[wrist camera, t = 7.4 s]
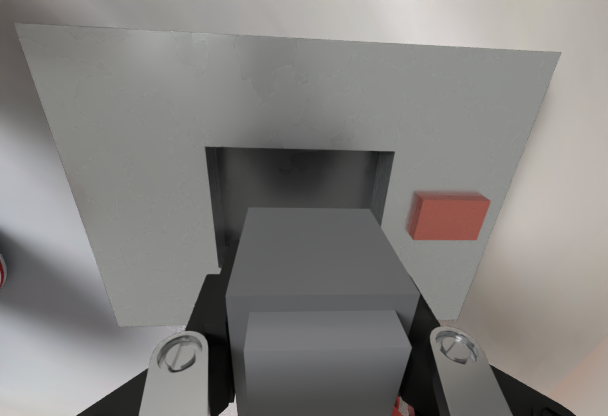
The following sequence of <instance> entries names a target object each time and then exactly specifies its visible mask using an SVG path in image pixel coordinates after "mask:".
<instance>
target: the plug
mask: <svg viewBox="0 0 608 416" xmlns="http://www.w3.org/2000/svg"><path fill="white" fill-rule="evenodd" d="M225 297H226V306H227V316H228V326H229V335H230V345H231V354H232V364H233V374H234V383H235V393H236V403H237V412H238V416H391V414H392V411H393V408H394V404H395V401H396V398H397V395H398V391H399V388H400V385H401V381H402V378H403V375H404V372H405V368H406V365H407V362H408V359H409V355H410V352H411V349H412V347H411V345H410V342H409V340H408V335H409V331H410V328H411V324H412V321H413V317H414V314H415V310H416V307H417V303H418V300H419V297H420V293H419V291H418V289H417V288H416V286H415V284H414V283H413V281H412V279H411V277H410V276H409V274H408V272H407V271H406V269H405V267H404V266H403V264H402V262H401V261H400V259H399V257H398V256H397V254H396V252H395V251H394V249H393V247H392V246H391V244H390V242H389V240H388V239H387V237H386V235H385V234H384V232H383V230H382V229H381V227H380V225H379V224H378V222H377V220H376V219H375V217H374V215H373V214H372V212H371V210H370V209H344V208H261V207H249V208H248V212H247V215H246V219H245V223H244V227H243V231H242V234H241V238H240V242H239V246H238V250H237V254H236V257H235V261H234V265H233V269H232V273H231V276H230V280H229V284H228V288H227V292H226V295H225Z"/></svg>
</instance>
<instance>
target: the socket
mask: <svg viewBox="0 0 608 416" xmlns="http://www.w3.org/2000/svg"><path fill="white" fill-rule="evenodd" d="M13 24H14V27H15V30H16V32H17V35H18V38H19V41H20V44H21V47H22V50H23V53H24V55H25V58H26V61H27V64H28V67H29V70H30V73H31V76H32V78H33V81H34V84H35V87H36V90H37V93H38V96H39V99H40V101H41V104H42V107H43V110H44V113H45V116H46V119H47V122H48V124H49V127H50V130H51V133H52V136H53V139H54V142H55V145H56V147H57V150H58V153H59V156H60V159H61V162H62V165H63V168H64V170H65V173H66V176H67V179H68V182H69V185H70V188H71V191H72V193H73V196H74V199H75V202H76V205H77V208H78V211H79V214H80V217H81V219H82V222H83V225H84V228H85V231H86V234H87V237H88V240H89V242H90V245H91V248H92V251H93V254H94V257H95V260H96V263H97V265H98V268H99V271H100V274H101V277H102V280H103V283H104V286H105V288H106V291H107V294H108V297H109V300H110V303H111V306H112V309H113V311H114V314H115V317H116V320H117V323H118V326H119V327H126V326H176V325H187V324H188V321H189V319H190V316H191V313H192V311H193V308H194V306H195V303H196V300H197V298H198V295H199V293H200V290H201V287H202V285H203V282H204V280H205V277H206V275H207V274H220V271H221V268H222V265H223V262H224V258H225V255H226V252H227V249H228V246H229V243H230V240H240V238H241V234H242V231H243V227H244V223H245V219H246V215H247V212H248V208H249V207H261V208H344V209H370V210H371V212H372V214H373V215H374V217H375V219H376V220H377V222H378V224H379V225H380V227H381V229H382V230H383V232H384V234H385V235H386V237H387V239H388V240H389V242H390V244H391V246H392V247H393V249H394V251H395V252H396V254H397V256H398V257H399V259H400V261H401V262H402V264H403V266H404V267H405V269H406V271H407V272H408V274H409V275H410V276H411V277H412V279H413V281H414V282H415V284H416V286H417V287H418V289H419V291H420V292H421V294H422V296H423V297H424V299H425V300H426V302H427V304H428V305H429V307H430V309H431V310H432V312H433V314H434V315H435V317H436V319H437V320H457V318H458V316H459V313H460V311H461V308H462V306H463V303H464V300H465V298H466V295H467V293H468V290H469V288H470V285H471V282H472V280H473V277H474V275H475V272H476V270H477V267H478V265H479V262H480V259H481V257H482V254H483V252H484V249H485V247H486V244H487V241H488V239H489V236H490V234H491V231H492V229H493V226H494V223H495V221H496V218H497V216H498V213H499V211H500V208H501V206H502V203H503V200H504V198H505V195H506V193H507V190H508V188H509V185H510V182H511V180H512V177H513V175H514V172H515V170H516V167H517V164H518V162H519V159H520V157H521V154H522V152H523V149H524V147H525V144H526V141H527V139H528V136H529V134H530V131H531V129H532V126H533V123H534V121H535V118H536V116H537V113H538V111H539V108H540V106H541V103H542V100H543V98H544V95H545V93H546V90H547V88H548V85H549V82H550V80H551V77H552V75H553V72H554V70H555V67H556V64H557V62H558V59H559V57H560V54H561V52H544V51H525V50H507V49H489V48H470V47H452V46H434V45H415V44H397V43H378V42H360V41H342V40H323V39H305V38H286V37H268V36H250V35H231V34H213V33H194V32H176V31H158V30H139V29H121V28H102V27H84V26H66V25H47V24H29V23H13Z"/></svg>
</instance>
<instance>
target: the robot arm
mask: <svg viewBox="0 0 608 416" xmlns="http://www.w3.org/2000/svg"><path fill="white" fill-rule="evenodd" d="M239 242H240V240H230V243H229V246H228V249H227V252H226V255H225V258H224V262H223V265H222V268H221V271H220V274H207V275H206V277H205V280H204V282H203V285H202V287H201V290H200V293H199V295H198V298H197V300H196V303H195V306H194V308H193V311H192V313H191V316H190V319H189V321H188V324H187V327H186V329H185V331H182V332H179V333H175V334H173V335H171V336H169V337H167V338H166V339H164V340H163V341H162V342H161V343H160V344H159V345H158V346H157V347H156V349H155V350H154V351H153V354H152V356H151V359H150V363H149V368H148V369H146V370H145V371H143V372H142V373H140V374H139V375H137V376H136V377H134V378H133V379H131V380H130V381H128V382H127V383H125V384H124V385H122V386H121V387H119V388H118V389H116V390H114V391H113V392H111V393H110V394H108V395H107V396H105V397H104V398H102V399H101V400H99V401H98V402H96V403H95V404H93V405H92V406H90V407H89V408H87V409H86V410H84V411H83V412H81V413H80V414H78V415H77V416H219V414H220V413H221V412H223V411H224V410H225V409H226V408H227V407H228V405H229V403H234V398H235V383H234V374H233V364H232V354H231V345H230V335H229V326H228V316H227V306H226V297H225V295H226V292H227V288H228V284H229V280H230V276H231V273H232V269H233V265H234V261H235V257H236V254H237V250H238V246H239ZM409 276H410V275H409ZM410 277H411V276H410ZM411 279H412V277H411ZM412 281H413V279H412ZM413 283H414V284H415V282H414V281H413ZM415 286H416V284H415ZM416 288H417V289H418V287H417V286H416ZM418 291H419V289H418ZM419 293H420V297H419V300H418V303H417V307H416V310H415V314H414V317H413V321H412V324H411V328H410V331H409V335H408V340H409V342H410V345H411V347H412V349H411V352H410V355H409V359H408V362H407V365H406V368H405V372H404V375H403V378H402V381H401V385H400V388H399V391H398V395H397V397H400V396H401V398H402V400H403V401H405V402H406V403H407V404H408V411H409V416H576V415H574V414H573V413H572V412H571V411H570V410H568V409H567V408H565V407H563V406H562V405H561V404H559V403H557V402H555V401H554V400H552V399H550V398H548V397H547V396H545V395H543V394H541V393H539V392H538V391H536V390H534V389H532V388H531V387H529V386H527V385H525V384H524V383H522V382H520V381H518V380H516V379H515V378H513V377H511V376H509V375H508V374H506V373H504V372H502V371H501V370H499V369H497V368H495V367H494V366H492V365H490V364H489V362H488V360H487V358H486V356H485V354H484V351H483V350H482V348H481V346H480V345H479V343H478V342H477V341H476V340H475V339H474V338H473V337H471V336H470V335H468V334H467V333H466V332H464V331H461V330H459V329H457V328H453V327H450V326H441V325H440V324H439V322H438V320H437V319H436V317H435V315H434V314H433V312H432V310H431V309H430V307H429V305H428V304H427V302H426V300H425V299H424V297H423V296H422V294H421V292H420V291H419Z"/></svg>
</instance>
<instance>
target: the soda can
mask: <svg viewBox="0 0 608 416" xmlns="http://www.w3.org/2000/svg"><path fill="white" fill-rule="evenodd" d="M6 276H7V269H6V264H5V261H4V258H3V257H2V255H1V253H0V289H1V288H2V286H3V285H4V283H5V281H6Z"/></svg>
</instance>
